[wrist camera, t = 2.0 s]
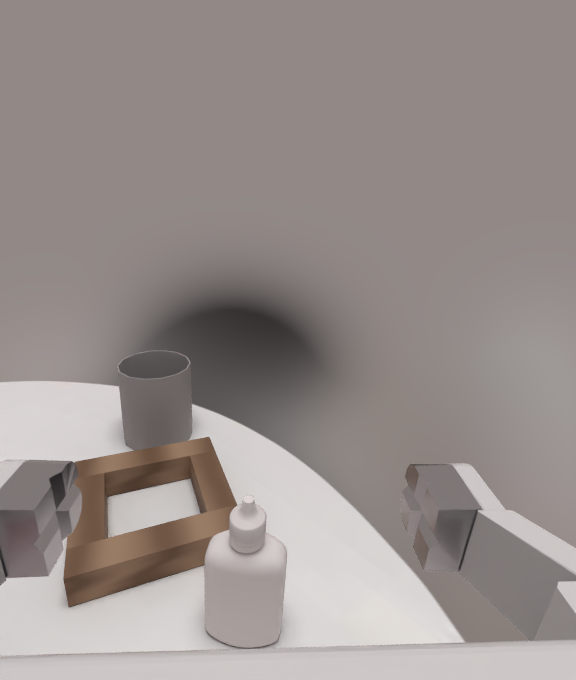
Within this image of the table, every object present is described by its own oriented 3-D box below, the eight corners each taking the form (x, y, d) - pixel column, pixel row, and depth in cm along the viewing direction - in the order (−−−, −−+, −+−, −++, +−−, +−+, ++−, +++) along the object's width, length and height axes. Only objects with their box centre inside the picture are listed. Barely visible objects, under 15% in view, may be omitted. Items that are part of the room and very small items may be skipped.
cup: (138, 462, 46) (132, 386, 42) (114, 429, 52) (107, 359, 48) (203, 437, 51) (202, 368, 47) (175, 410, 57) (172, 346, 53)
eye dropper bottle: (235, 581, 33) (237, 463, 28) (291, 623, 30) (303, 499, 26) (196, 625, 29) (192, 498, 25) (254, 677, 26) (262, 544, 22)
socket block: (68, 607, 30) (63, 578, 29) (78, 485, 42) (75, 461, 41) (245, 551, 35) (245, 526, 34) (209, 457, 47) (209, 436, 46)
